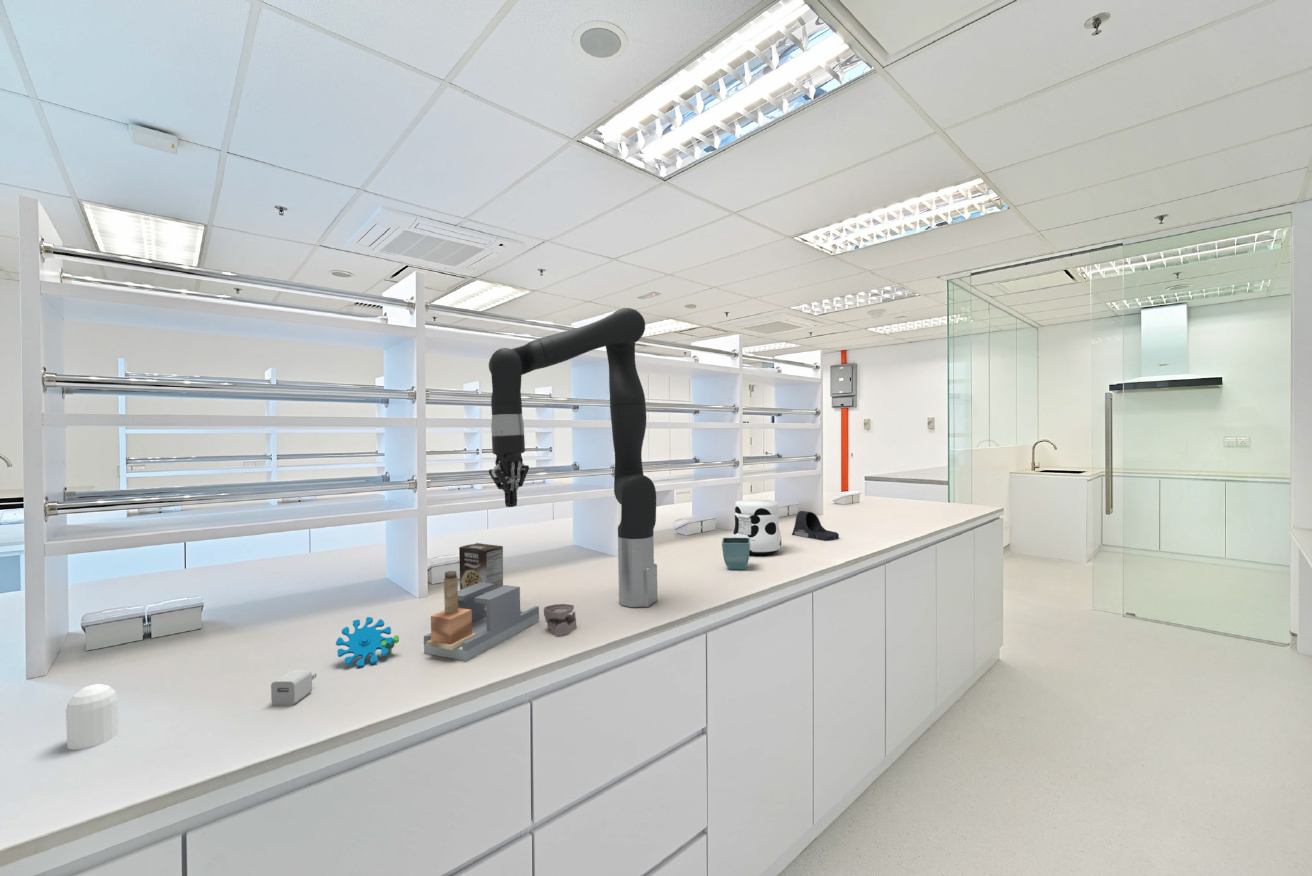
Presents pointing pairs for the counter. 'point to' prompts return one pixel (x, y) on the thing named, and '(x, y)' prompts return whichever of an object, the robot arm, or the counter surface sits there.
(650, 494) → the robot arm
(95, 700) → the white domed cylinder
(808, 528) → the sight
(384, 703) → the counter surface
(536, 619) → the tunnel
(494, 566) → the coffee box
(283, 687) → the usb wall charger
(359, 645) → the gear
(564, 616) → the dental mold
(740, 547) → the flower pot
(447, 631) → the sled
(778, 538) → the milk container
